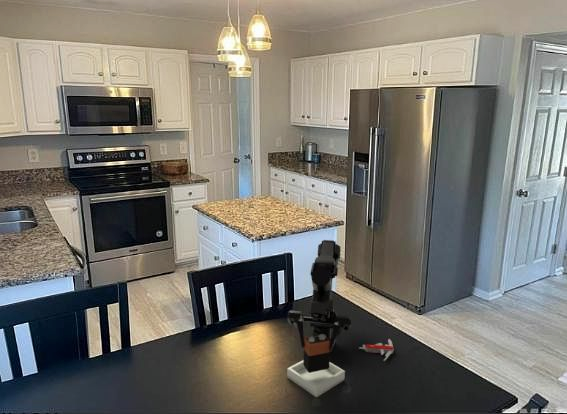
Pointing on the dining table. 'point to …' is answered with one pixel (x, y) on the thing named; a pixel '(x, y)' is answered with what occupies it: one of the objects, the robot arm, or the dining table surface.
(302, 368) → the parts tray
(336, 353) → the dining table surface
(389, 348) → the swiss army knife
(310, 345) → the battery
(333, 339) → the robot arm
